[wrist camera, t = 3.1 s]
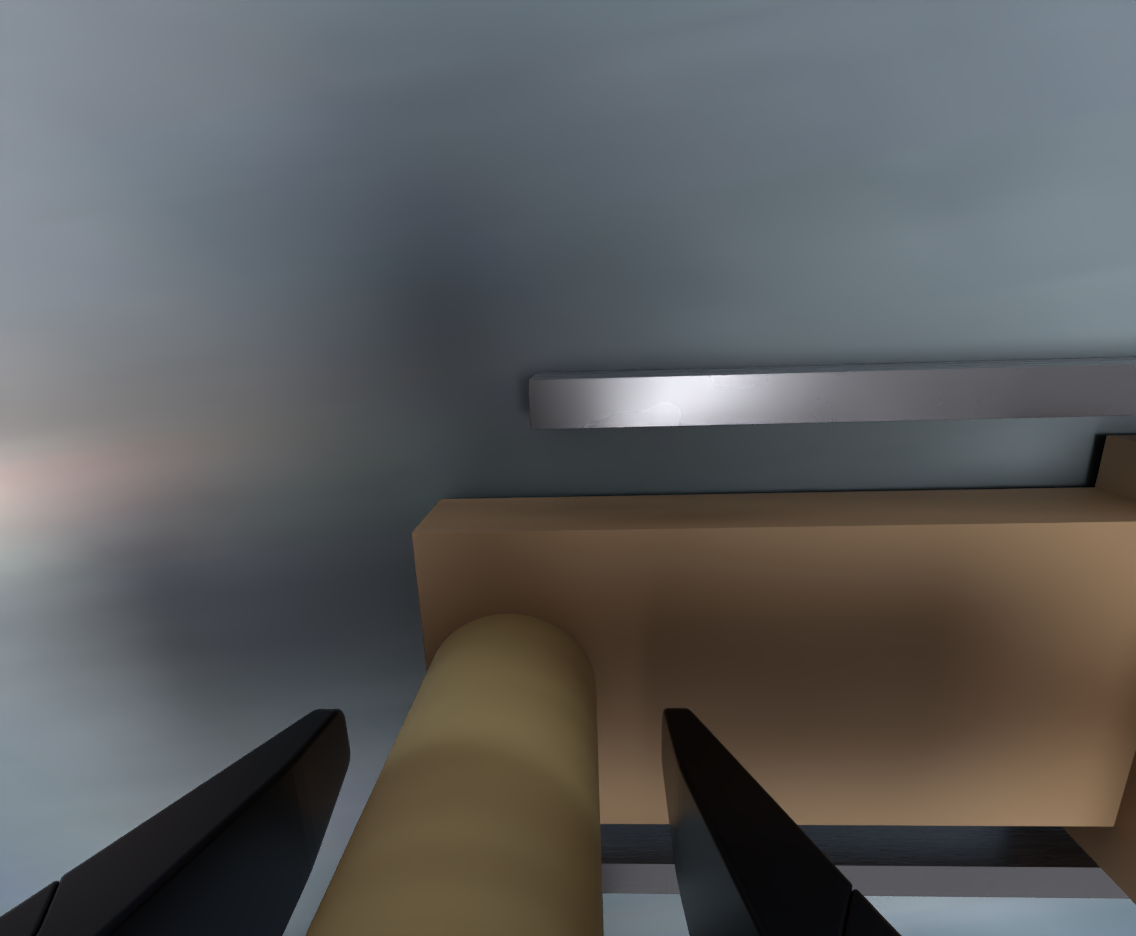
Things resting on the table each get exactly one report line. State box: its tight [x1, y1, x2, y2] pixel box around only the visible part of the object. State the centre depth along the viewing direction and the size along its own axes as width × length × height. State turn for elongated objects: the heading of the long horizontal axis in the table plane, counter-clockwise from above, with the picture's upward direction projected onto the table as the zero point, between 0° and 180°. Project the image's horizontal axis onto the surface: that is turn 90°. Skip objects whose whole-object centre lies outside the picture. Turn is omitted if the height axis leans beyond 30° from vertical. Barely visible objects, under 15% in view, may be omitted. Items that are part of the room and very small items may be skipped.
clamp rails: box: [528, 357, 1136, 898], centre depth 10 cm, size 11×19×2 cm, turn 92°
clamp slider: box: [306, 435, 1136, 936], centre depth 7 cm, size 8×14×8 cm, turn 92°
